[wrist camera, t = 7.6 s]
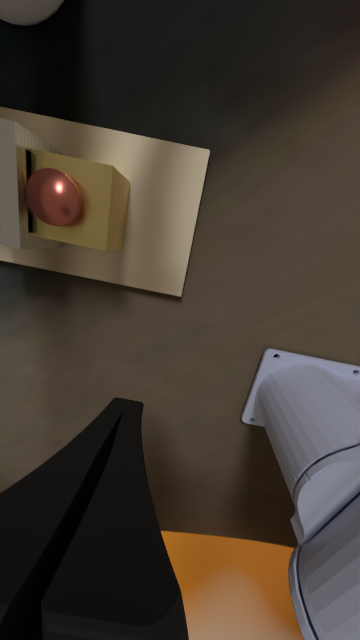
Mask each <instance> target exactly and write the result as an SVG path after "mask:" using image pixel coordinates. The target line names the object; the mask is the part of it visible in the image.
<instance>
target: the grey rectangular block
mask: <svg viewBox="0 0 360 640" xmlns="http://www.w3.org/2000/svg"><path fill="white" fill-rule="evenodd" d="M31 149H36V150H41V151H45V152H50V153H55V154H60V155H64V154H62V153H61V152H59V151H58V150H57V149H55V148H54V147H52V146H51V145H49V144H48V143H46V142H45V141H43V140H42V139H40V138H39V137H37V136H36V135H34V134H33V133H32V132H30V131H29V130H27V129H26V128H24V127H23V126H21V125H20V124H18V123H17V122H15V121H12V120H7V119H2V118H0V245H3V246H8V247H13V248H18V249H31V248H60V247H65V242H61V241H56V240H51V239H46V238H41V237H37V236H33V228H28V209H27V177H26V163H28V164H31ZM64 156H65V155H64Z"/></svg>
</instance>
